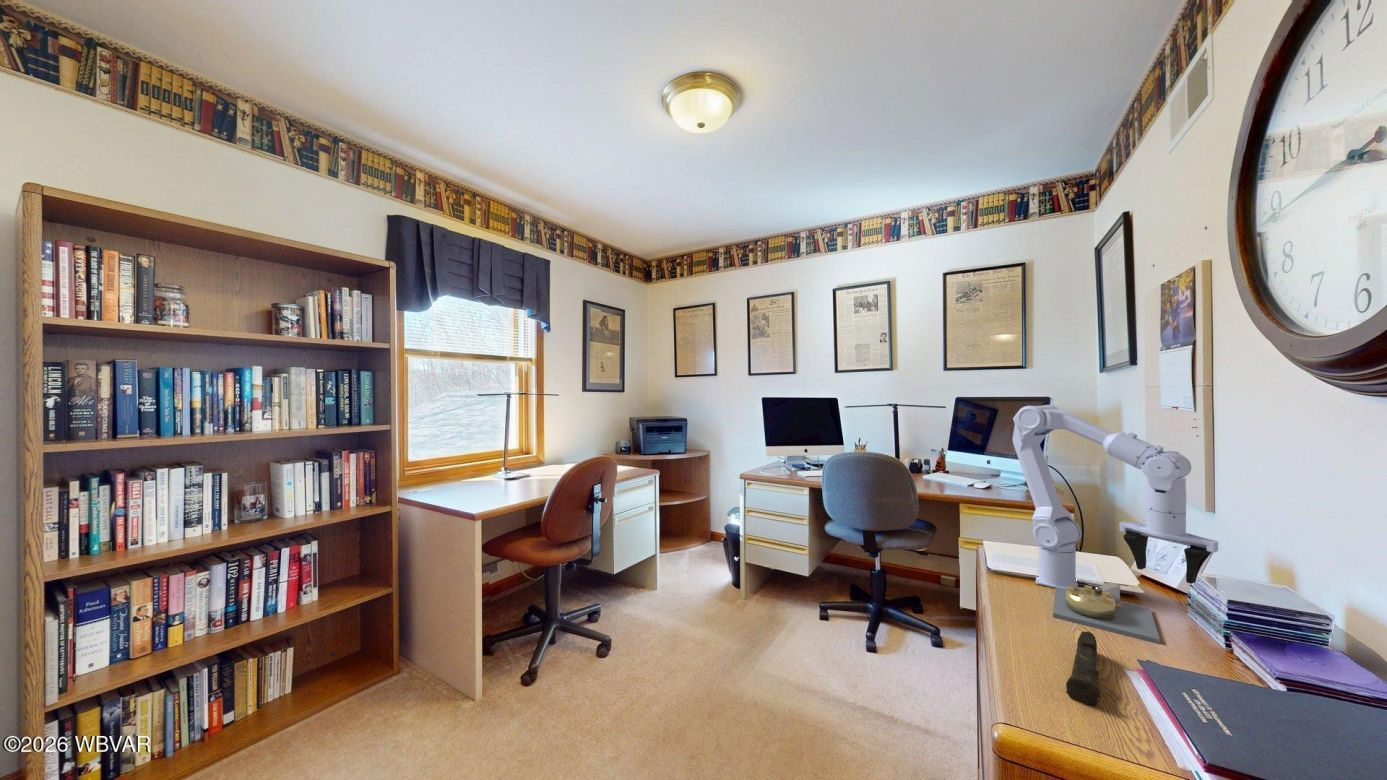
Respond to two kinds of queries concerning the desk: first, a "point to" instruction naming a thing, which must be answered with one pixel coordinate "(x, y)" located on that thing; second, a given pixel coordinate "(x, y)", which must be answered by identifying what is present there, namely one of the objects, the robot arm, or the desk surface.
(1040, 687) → the desk surface
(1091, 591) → the gold rounded piece
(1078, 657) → the dark brown statuette
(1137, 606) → the base plate
